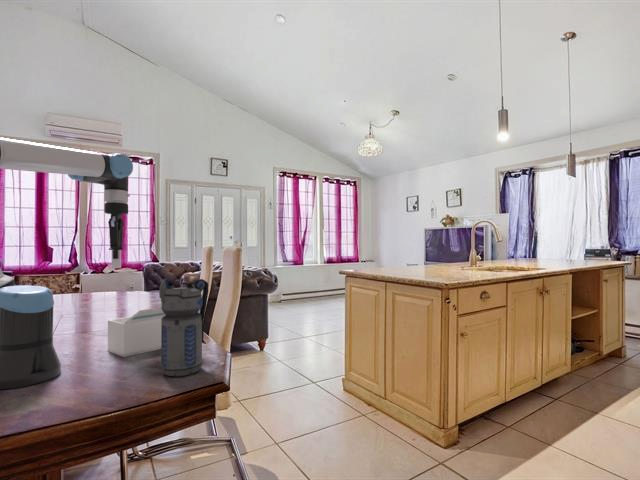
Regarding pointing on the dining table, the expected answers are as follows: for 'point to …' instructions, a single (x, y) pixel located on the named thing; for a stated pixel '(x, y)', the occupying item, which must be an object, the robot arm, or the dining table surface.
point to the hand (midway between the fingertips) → (116, 268)
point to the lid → (146, 315)
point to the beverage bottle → (182, 327)
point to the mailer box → (133, 336)
